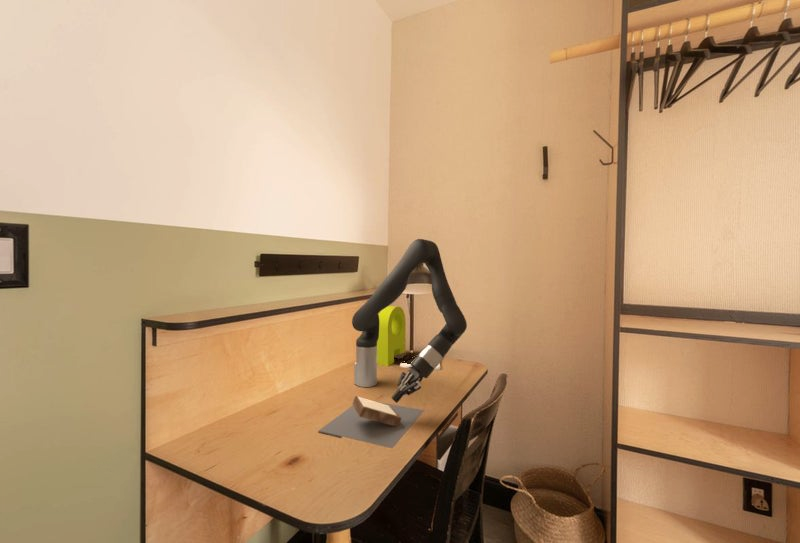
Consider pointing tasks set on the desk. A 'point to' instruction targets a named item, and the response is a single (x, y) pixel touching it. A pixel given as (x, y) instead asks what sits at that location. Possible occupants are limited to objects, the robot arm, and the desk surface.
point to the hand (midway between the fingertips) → (393, 400)
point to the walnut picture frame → (376, 411)
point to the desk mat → (371, 426)
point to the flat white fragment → (411, 366)
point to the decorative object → (390, 334)
